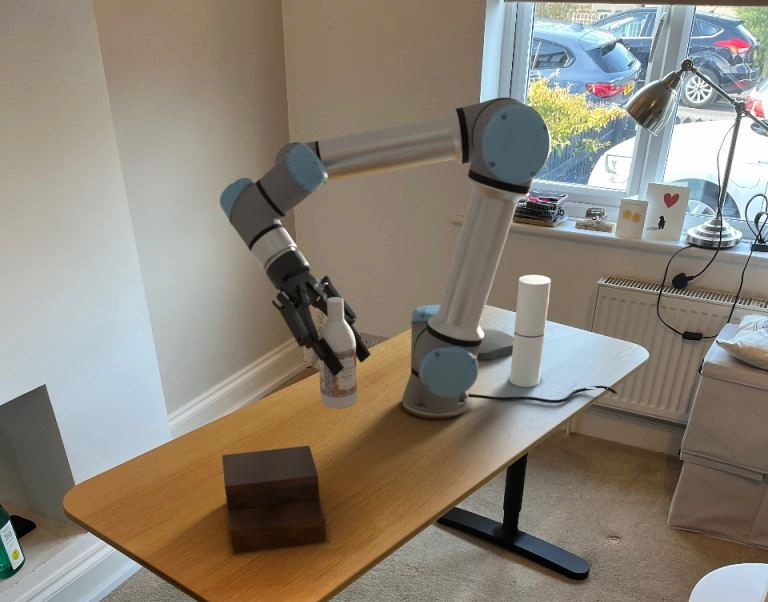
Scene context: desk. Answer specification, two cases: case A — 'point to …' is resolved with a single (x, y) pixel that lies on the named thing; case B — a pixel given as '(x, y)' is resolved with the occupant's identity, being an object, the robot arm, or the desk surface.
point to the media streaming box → (495, 344)
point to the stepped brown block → (273, 499)
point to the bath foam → (342, 342)
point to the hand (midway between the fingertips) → (352, 365)
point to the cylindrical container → (529, 329)
